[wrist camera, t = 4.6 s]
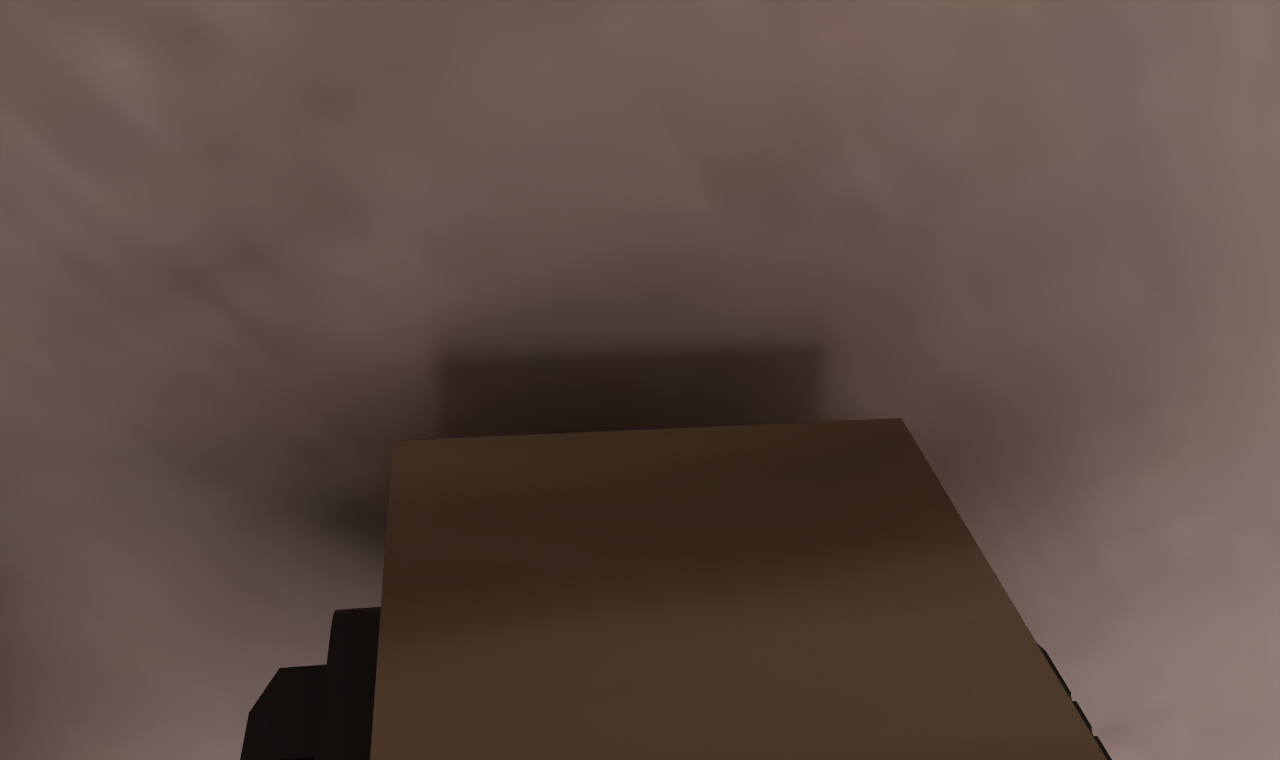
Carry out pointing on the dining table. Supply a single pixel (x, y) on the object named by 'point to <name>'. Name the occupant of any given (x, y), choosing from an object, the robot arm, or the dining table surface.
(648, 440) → the walnut block
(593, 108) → the dining table surface
